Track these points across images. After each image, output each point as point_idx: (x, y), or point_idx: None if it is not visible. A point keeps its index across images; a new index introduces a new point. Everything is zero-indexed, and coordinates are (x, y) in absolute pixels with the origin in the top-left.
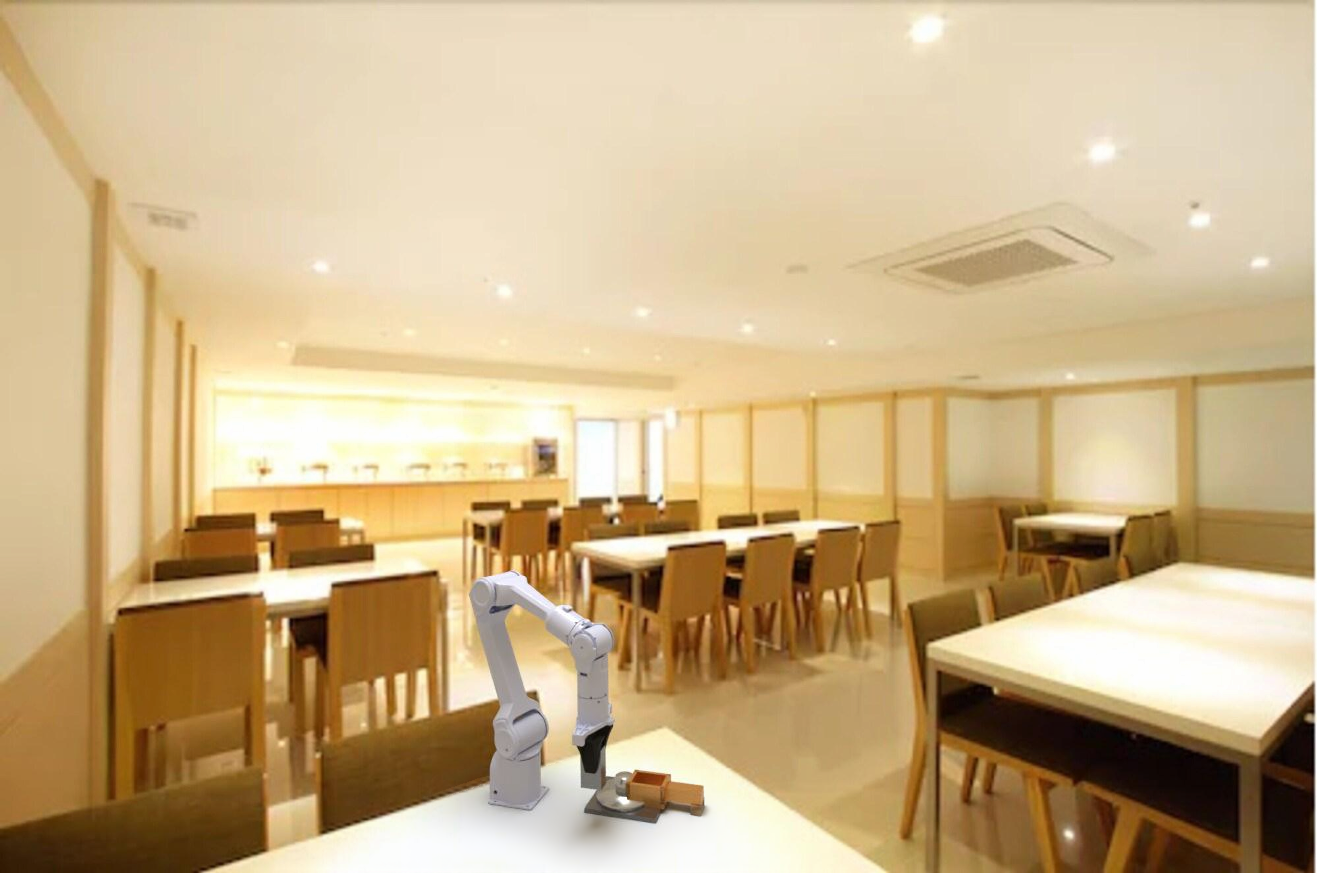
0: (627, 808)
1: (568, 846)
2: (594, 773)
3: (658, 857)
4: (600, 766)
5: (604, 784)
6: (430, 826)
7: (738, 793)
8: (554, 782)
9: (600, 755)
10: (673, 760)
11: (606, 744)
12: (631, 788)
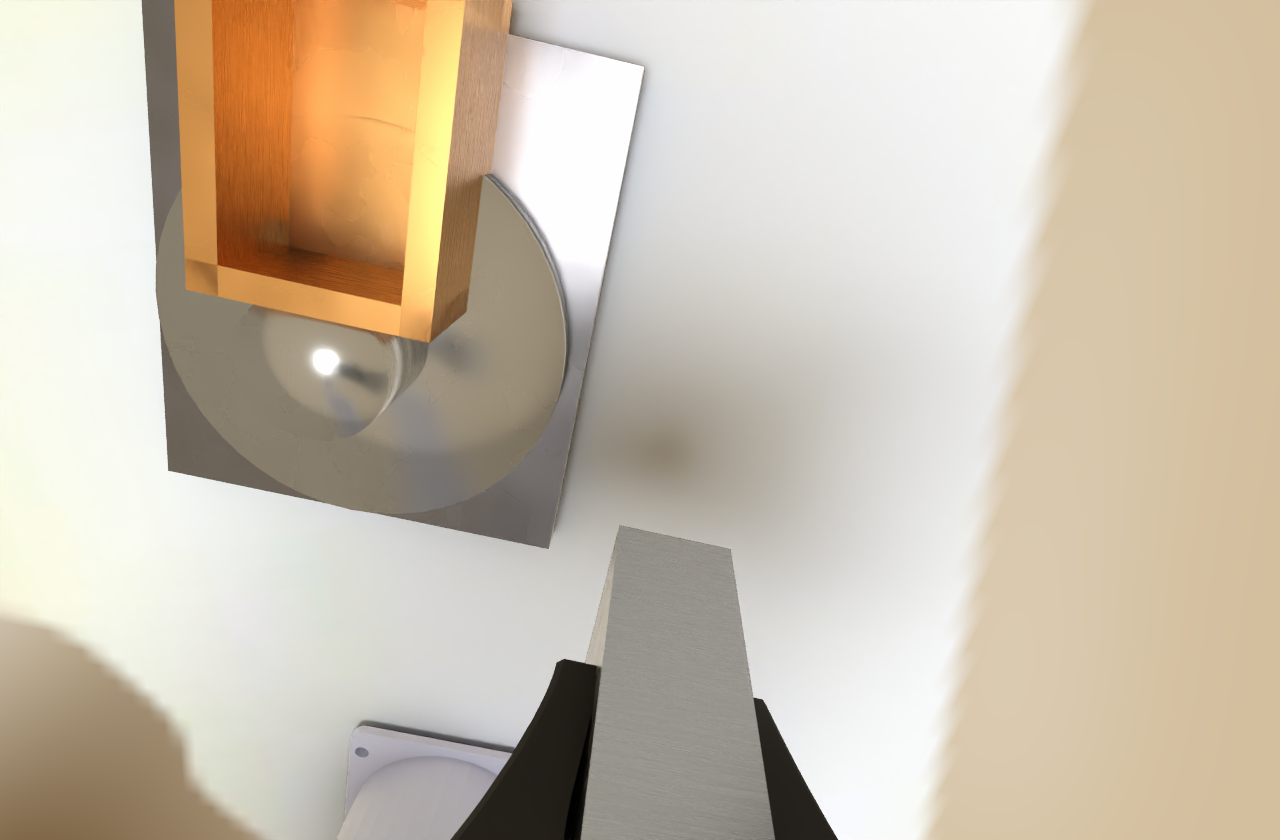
0: (558, 293)
1: (847, 563)
2: (766, 707)
3: (1019, 23)
4: (753, 707)
5: (655, 538)
6: None
7: None
8: (284, 708)
9: (768, 824)
10: None
11: (490, 809)
12: (447, 291)
